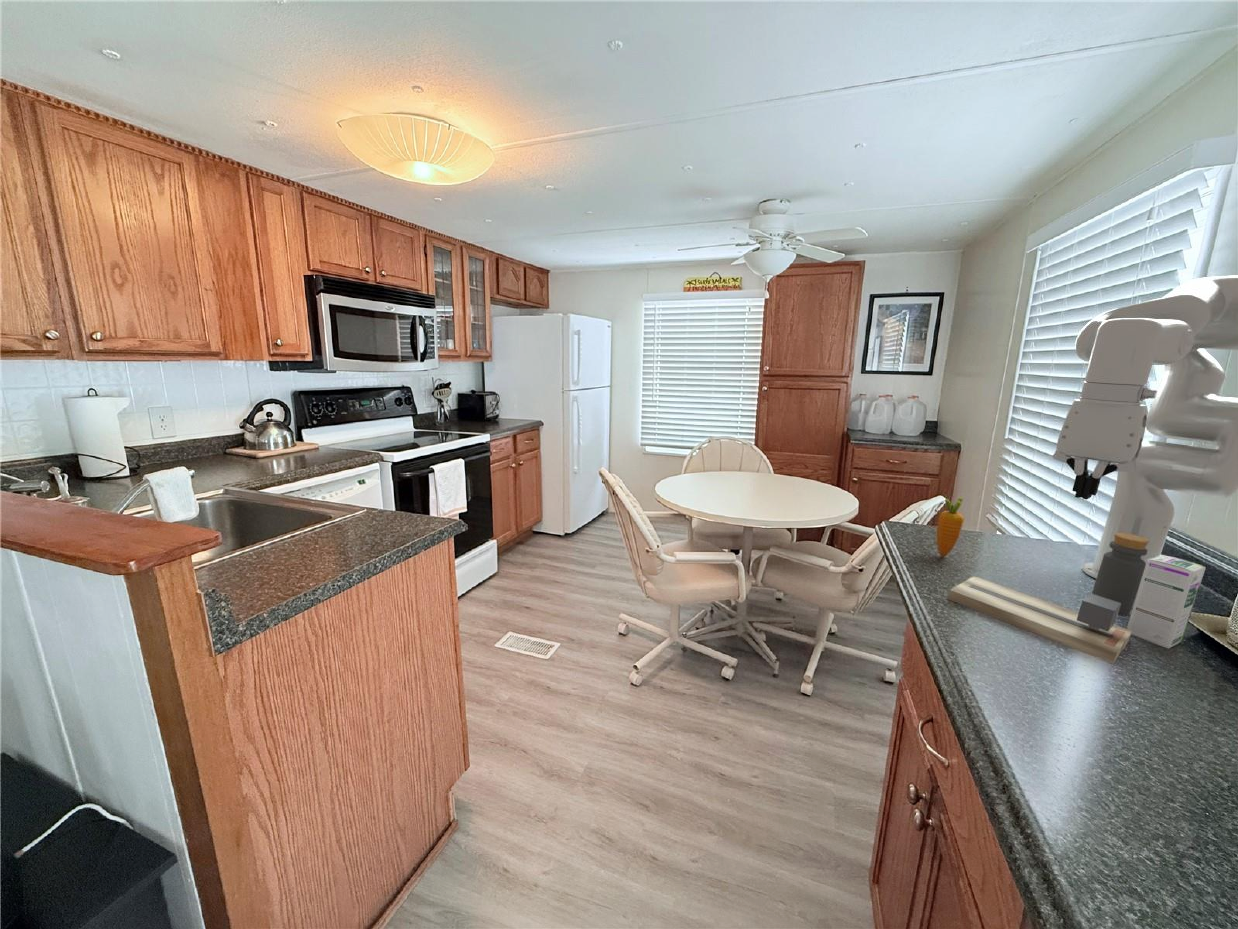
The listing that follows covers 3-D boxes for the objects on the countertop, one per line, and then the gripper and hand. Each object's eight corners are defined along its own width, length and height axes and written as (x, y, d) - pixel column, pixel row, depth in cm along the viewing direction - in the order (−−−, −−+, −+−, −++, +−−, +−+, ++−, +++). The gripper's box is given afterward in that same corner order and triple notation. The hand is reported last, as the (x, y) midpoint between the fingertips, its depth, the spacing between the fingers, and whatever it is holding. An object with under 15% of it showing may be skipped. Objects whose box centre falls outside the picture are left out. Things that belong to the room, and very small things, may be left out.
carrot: (933, 558, 117) (946, 499, 114) (929, 551, 122) (941, 493, 118) (957, 563, 115) (971, 502, 112) (952, 555, 120) (965, 496, 116)
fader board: (971, 584, 104) (974, 575, 104) (1129, 641, 86) (1132, 630, 85) (947, 598, 98) (949, 589, 97) (1112, 663, 79) (1116, 652, 78)
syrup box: (1169, 650, 84) (1197, 571, 80) (1123, 631, 89) (1147, 557, 85) (1181, 642, 86) (1209, 566, 83) (1135, 625, 91) (1160, 552, 88)
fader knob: (1082, 618, 88) (1090, 593, 86) (1113, 629, 84) (1121, 603, 83) (1074, 626, 85) (1082, 600, 84) (1105, 638, 82) (1114, 611, 80)
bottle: (1138, 617, 94) (1162, 544, 91) (1103, 612, 95) (1125, 540, 92) (1115, 602, 100) (1137, 533, 96) (1082, 598, 101) (1102, 529, 97)
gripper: (1180, 398, 79) (1146, 505, 84) (1061, 389, 91) (1037, 484, 96) (1171, 400, 75) (1137, 513, 80) (1048, 390, 87) (1024, 489, 91)
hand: (1082, 497), depth 88 cm, fingers closed
